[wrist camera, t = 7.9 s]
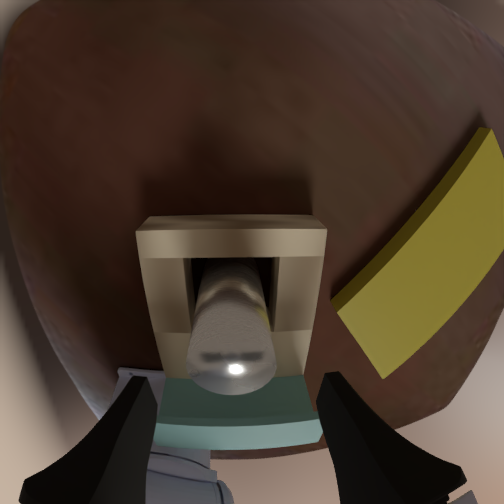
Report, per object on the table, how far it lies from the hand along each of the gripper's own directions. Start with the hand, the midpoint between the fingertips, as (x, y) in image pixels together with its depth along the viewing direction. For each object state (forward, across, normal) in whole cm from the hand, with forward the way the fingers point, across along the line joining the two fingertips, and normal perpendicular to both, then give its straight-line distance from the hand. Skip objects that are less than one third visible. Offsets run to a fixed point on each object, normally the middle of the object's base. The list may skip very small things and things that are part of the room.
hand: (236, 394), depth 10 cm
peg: (+10, 0, 0) cm, 10 cm away
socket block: (+10, 0, +2) cm, 11 cm away
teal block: (+7, 0, +7) cm, 10 cm away
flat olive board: (+11, -18, -1) cm, 22 cm away
